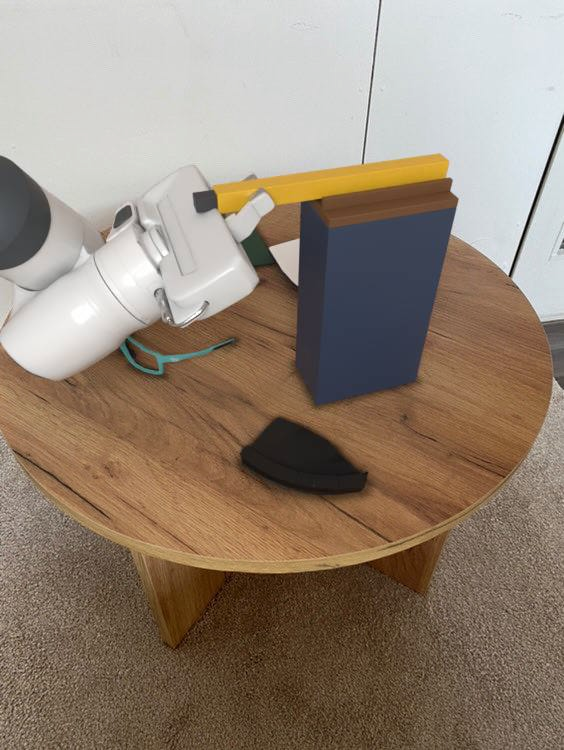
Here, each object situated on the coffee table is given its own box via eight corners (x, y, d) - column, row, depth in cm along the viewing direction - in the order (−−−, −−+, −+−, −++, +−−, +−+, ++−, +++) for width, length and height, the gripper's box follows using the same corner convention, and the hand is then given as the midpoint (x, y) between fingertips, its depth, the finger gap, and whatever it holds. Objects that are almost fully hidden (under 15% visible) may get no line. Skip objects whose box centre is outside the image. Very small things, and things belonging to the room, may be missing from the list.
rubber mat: (114, 291, 90) (114, 289, 90) (106, 251, 98) (105, 249, 98) (274, 263, 96) (274, 261, 96) (253, 227, 104) (253, 225, 104)
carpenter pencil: (197, 217, 54) (195, 197, 52) (193, 207, 55) (191, 187, 54) (445, 179, 60) (449, 161, 58) (436, 171, 61) (440, 153, 60)
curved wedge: (338, 524, 61) (339, 516, 60) (236, 464, 67) (236, 455, 65) (376, 471, 66) (378, 462, 65) (278, 419, 72) (278, 410, 70)
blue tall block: (316, 406, 73) (330, 208, 54) (295, 364, 79) (301, 171, 60) (415, 381, 76) (461, 187, 57) (389, 343, 82) (423, 154, 63)
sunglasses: (102, 331, 83) (98, 302, 80) (196, 305, 90) (196, 278, 87) (142, 390, 75) (139, 360, 71) (242, 357, 82) (244, 328, 78)
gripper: (144, 314, 48) (283, 216, 46) (114, 200, 62) (220, 121, 60) (189, 355, 52) (317, 268, 50) (152, 241, 66) (251, 168, 64)
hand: (264, 187), depth 55 cm, fingers closed on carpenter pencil, 2 cm apart
